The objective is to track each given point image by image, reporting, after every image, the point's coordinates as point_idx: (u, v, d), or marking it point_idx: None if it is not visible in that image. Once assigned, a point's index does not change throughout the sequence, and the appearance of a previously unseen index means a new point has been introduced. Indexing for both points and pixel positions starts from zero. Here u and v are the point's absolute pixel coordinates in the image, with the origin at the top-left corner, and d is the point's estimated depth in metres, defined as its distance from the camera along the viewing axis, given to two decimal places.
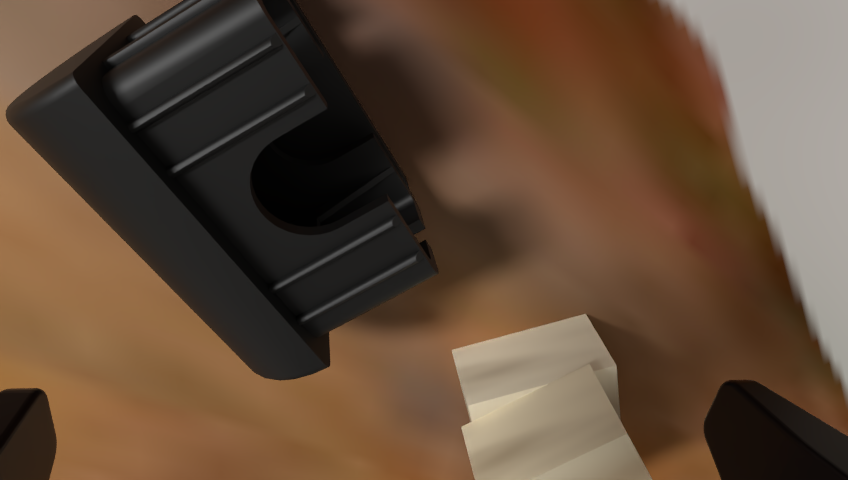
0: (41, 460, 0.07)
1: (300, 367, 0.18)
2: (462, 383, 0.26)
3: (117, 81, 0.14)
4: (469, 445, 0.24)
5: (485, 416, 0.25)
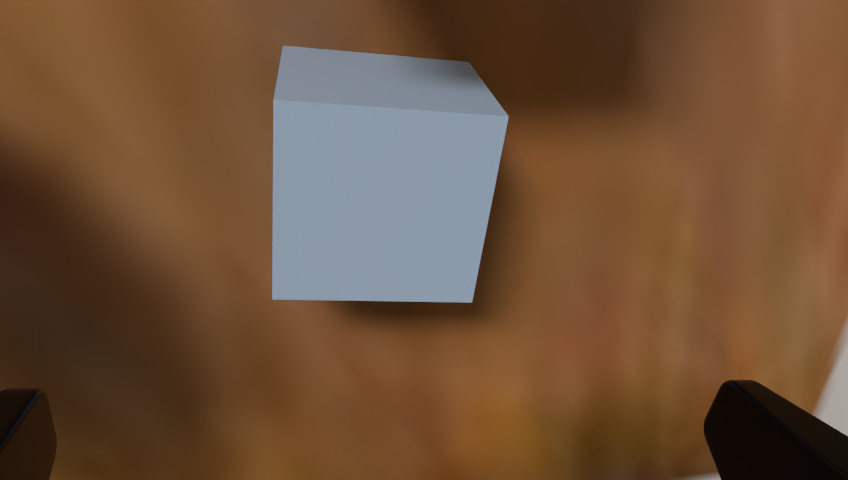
0: (41, 460, 0.07)
1: None
2: None
3: None
4: None
5: None
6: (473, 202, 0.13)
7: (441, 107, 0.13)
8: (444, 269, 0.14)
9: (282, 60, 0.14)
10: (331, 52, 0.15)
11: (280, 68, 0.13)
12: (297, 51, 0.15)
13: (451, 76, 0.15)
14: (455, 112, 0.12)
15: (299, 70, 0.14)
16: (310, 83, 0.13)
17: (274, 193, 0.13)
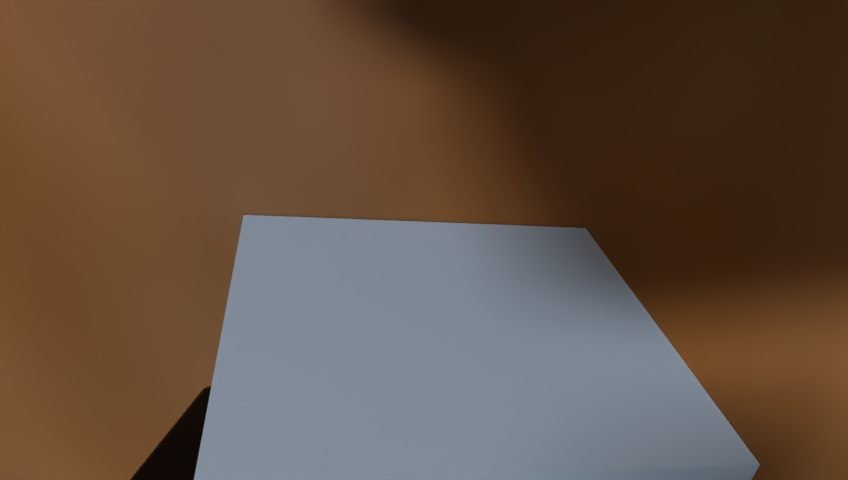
0: None
1: None
2: None
3: None
4: None
5: None
6: None
7: (604, 445, 0.05)
8: None
9: (236, 276, 0.07)
10: (336, 231, 0.08)
11: (228, 312, 0.06)
12: (270, 234, 0.08)
13: (576, 291, 0.07)
14: (640, 462, 0.05)
15: (272, 313, 0.06)
16: (290, 375, 0.06)
17: None
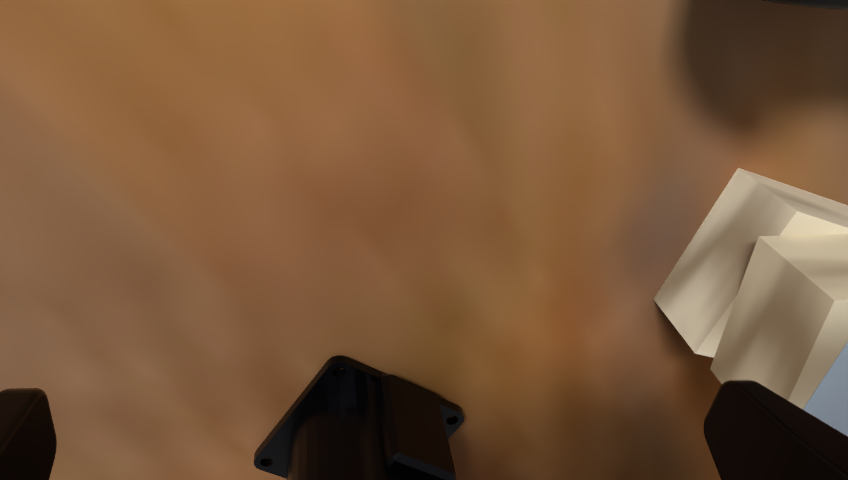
0: (41, 460, 0.07)
1: None
2: (774, 194, 0.21)
3: None
4: (782, 252, 0.20)
5: (787, 237, 0.21)
6: None
7: None
8: None
9: None
10: None
11: None
12: None
13: None
14: None
15: None
16: None
17: None
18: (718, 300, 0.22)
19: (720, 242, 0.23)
